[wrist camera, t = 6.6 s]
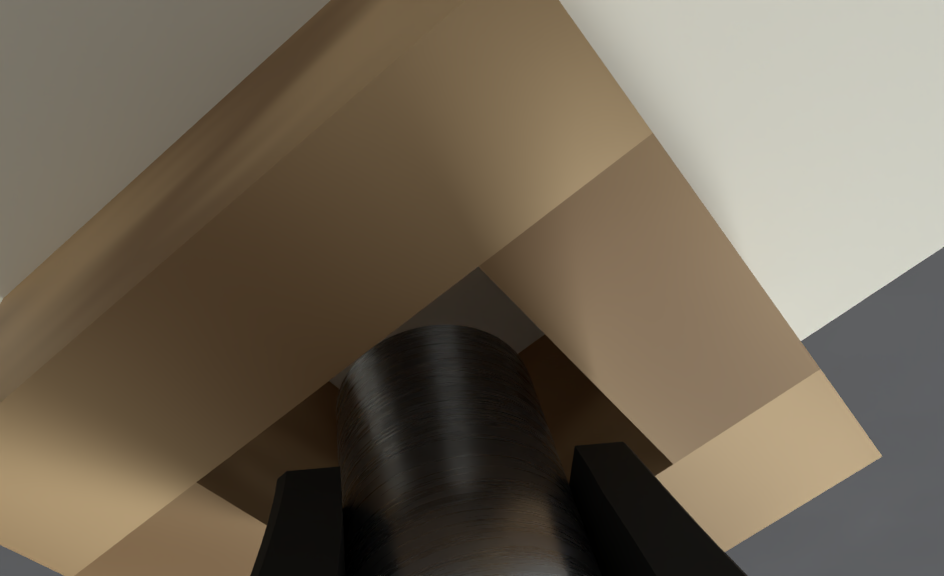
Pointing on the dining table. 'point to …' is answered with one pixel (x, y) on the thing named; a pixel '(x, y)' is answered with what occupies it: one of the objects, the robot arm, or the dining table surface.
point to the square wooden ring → (392, 294)
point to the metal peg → (452, 463)
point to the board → (628, 60)
